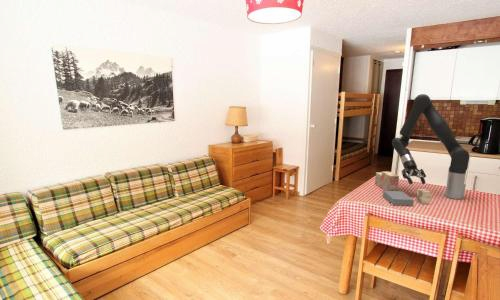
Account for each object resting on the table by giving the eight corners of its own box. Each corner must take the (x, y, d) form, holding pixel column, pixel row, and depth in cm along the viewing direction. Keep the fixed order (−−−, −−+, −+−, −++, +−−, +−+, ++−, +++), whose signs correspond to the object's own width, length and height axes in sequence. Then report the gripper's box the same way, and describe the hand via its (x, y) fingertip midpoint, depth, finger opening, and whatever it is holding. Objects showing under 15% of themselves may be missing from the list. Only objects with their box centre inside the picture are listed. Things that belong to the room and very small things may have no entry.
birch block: (416, 201, 176) (417, 189, 175) (423, 201, 176) (425, 189, 175) (421, 204, 171) (423, 191, 170) (429, 203, 172) (430, 191, 170)
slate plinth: (401, 197, 184) (402, 191, 183) (413, 206, 168) (413, 199, 167) (382, 196, 185) (383, 190, 184) (392, 205, 169) (393, 199, 168)
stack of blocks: (374, 183, 214) (375, 168, 212) (382, 183, 214) (384, 168, 212) (388, 192, 193) (390, 175, 190) (397, 192, 193) (399, 175, 191)
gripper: (401, 159, 184) (410, 181, 174) (421, 159, 185) (431, 180, 175) (395, 165, 190) (404, 186, 181) (415, 165, 191) (424, 186, 182)
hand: (417, 183), depth 178 cm, fingers open, 8 cm apart
